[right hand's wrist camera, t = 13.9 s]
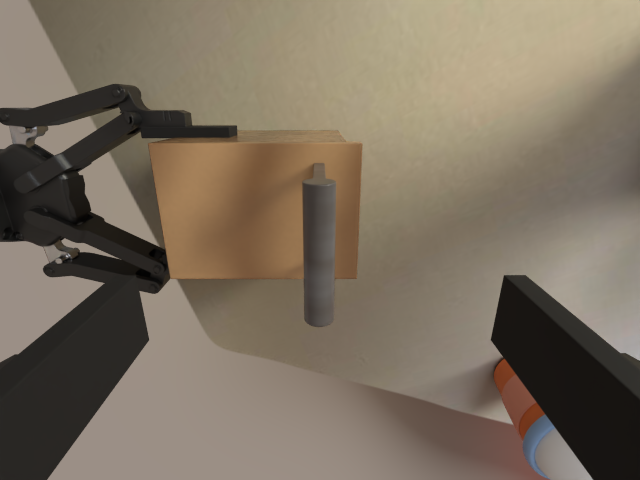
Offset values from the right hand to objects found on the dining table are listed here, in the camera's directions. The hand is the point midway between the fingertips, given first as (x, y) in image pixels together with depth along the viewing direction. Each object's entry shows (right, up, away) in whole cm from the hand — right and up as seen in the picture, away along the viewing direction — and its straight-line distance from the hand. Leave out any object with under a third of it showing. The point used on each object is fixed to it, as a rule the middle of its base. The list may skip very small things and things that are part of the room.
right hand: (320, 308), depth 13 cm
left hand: (-7, +6, +16) cm, 19 cm away
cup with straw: (+25, -14, +31) cm, 42 cm away
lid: (-4, +5, +12) cm, 14 cm away
